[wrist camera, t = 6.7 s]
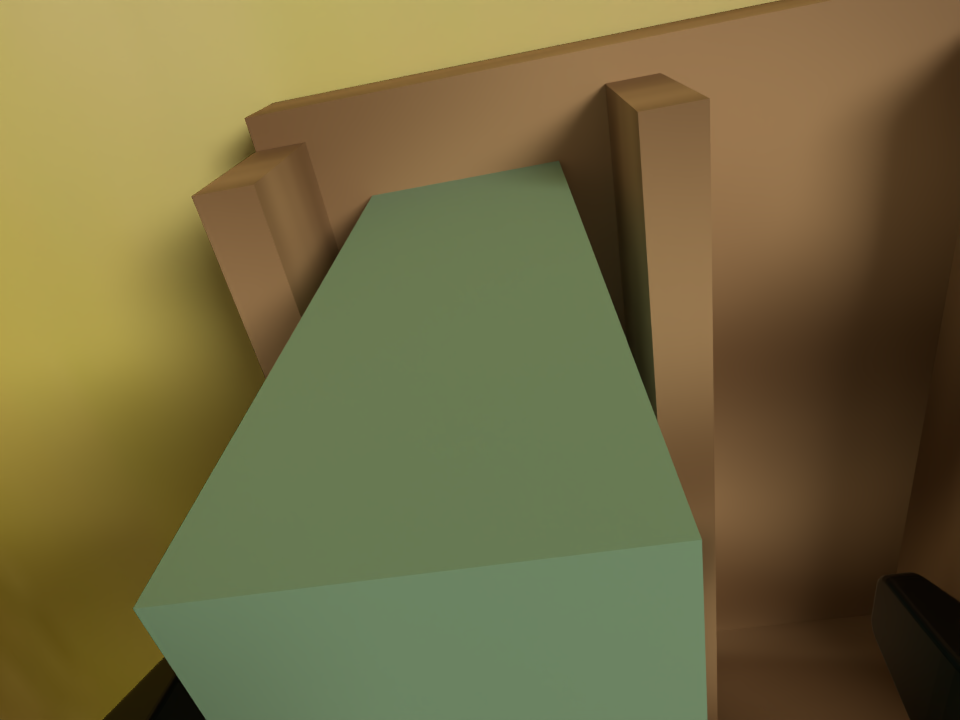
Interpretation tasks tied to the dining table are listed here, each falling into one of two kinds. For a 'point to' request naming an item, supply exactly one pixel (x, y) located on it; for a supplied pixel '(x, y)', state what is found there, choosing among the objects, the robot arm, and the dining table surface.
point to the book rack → (708, 288)
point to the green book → (444, 491)
